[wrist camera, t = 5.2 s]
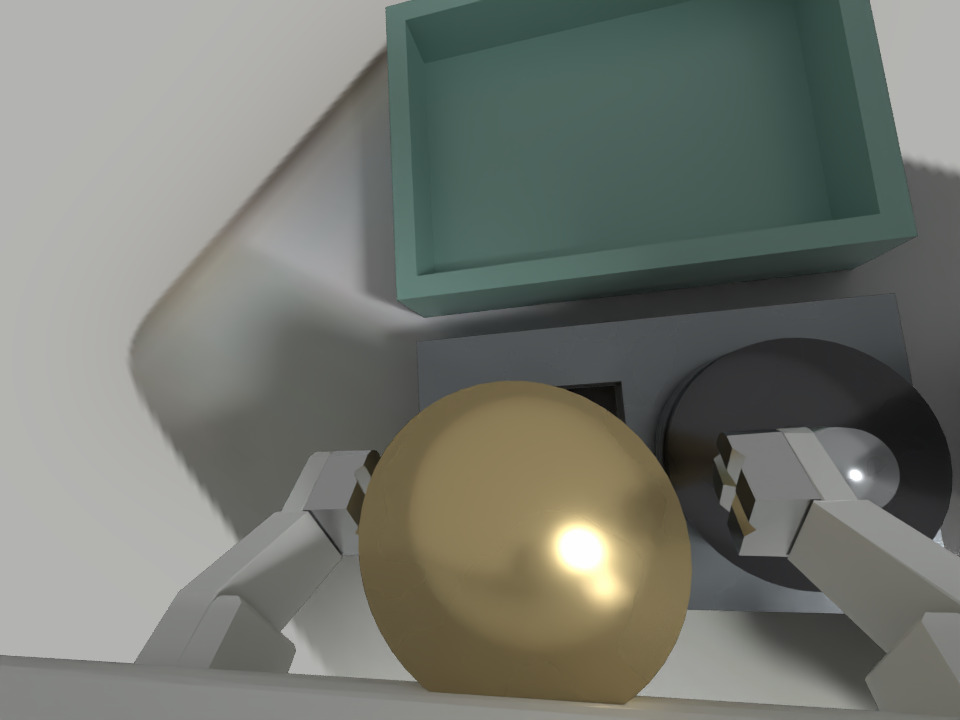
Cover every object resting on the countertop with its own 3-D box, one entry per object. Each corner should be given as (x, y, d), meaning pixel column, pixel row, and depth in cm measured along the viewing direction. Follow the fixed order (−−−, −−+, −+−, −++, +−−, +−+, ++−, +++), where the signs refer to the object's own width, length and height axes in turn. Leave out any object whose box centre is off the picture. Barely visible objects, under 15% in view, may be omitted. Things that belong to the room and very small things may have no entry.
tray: (799, -27, 17) (845, -117, 14) (852, 268, 15) (917, 235, 13) (412, 65, 20) (385, 7, 17) (424, 317, 19) (396, 299, 16)
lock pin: (602, 399, 17) (669, 367, 5) (613, 507, 16) (714, 745, 5) (499, 406, 18) (355, 393, 6) (506, 509, 17) (362, 717, 5)
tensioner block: (844, 311, 15) (1032, 241, 9) (891, 581, 14) (1146, 717, 8) (437, 350, 18) (365, 319, 12) (448, 576, 17) (375, 671, 11)
